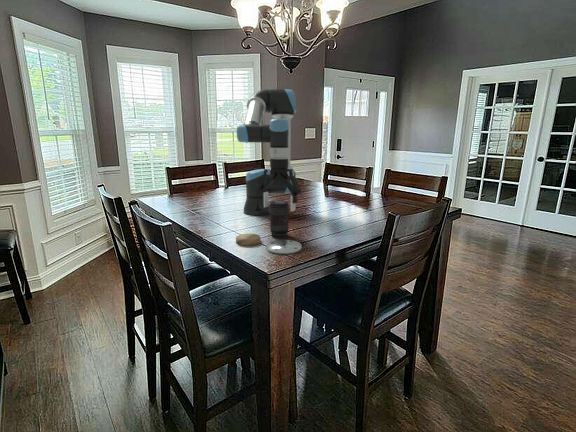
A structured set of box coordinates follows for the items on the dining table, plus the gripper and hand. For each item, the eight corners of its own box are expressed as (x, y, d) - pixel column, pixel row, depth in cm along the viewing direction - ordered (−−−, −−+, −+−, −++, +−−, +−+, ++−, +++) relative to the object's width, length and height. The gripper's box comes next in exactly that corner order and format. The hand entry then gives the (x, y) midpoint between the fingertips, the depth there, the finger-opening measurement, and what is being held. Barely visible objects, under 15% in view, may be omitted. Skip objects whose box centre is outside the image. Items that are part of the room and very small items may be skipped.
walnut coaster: (230, 244, 138) (230, 238, 137) (246, 237, 146) (246, 232, 146) (250, 248, 133) (250, 242, 132) (265, 241, 141) (265, 236, 140)
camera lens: (288, 232, 152) (288, 199, 148) (288, 238, 144) (289, 204, 140) (270, 232, 152) (269, 200, 148) (269, 238, 144) (269, 204, 140)
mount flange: (258, 249, 131) (258, 247, 130) (278, 239, 142) (278, 237, 142) (289, 257, 124) (289, 254, 123) (308, 246, 135) (308, 243, 135)
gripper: (249, 157, 143) (250, 206, 148) (300, 160, 130) (300, 214, 135) (260, 156, 149) (260, 203, 154) (310, 159, 136) (309, 210, 141)
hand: (279, 208), depth 144 cm, fingers open, 13 cm apart
